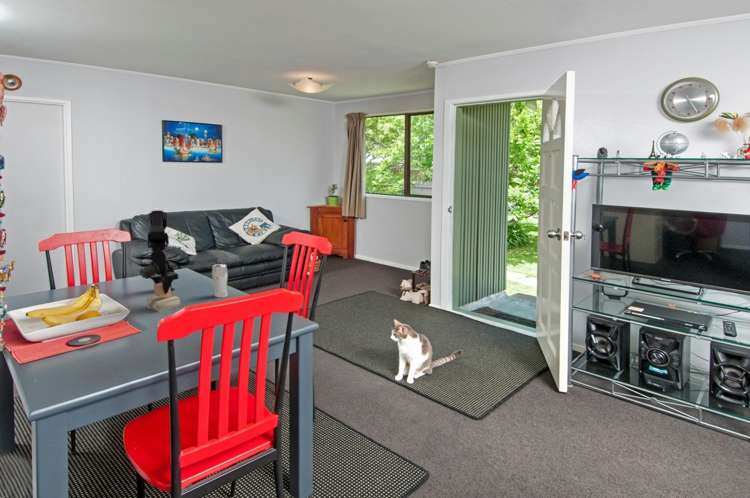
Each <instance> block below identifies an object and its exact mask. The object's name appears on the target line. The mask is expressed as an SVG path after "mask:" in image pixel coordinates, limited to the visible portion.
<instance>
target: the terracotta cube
mask: <svg viewBox="0 0 750 498" xmlns="http://www.w3.org/2000/svg"><path fill="white" fill-rule="evenodd" d="M153 292H154V297H157V296H158V297H164V296H168V295H172V290H171V287H170V288H169V290H168V293H167V294H164V290H163V286H162V283H158V284H155V283H154V284H153Z"/></svg>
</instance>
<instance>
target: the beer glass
mask: <svg viewBox="0 0 750 498" xmlns="http://www.w3.org/2000/svg"><path fill="white" fill-rule="evenodd" d="M211 276H212V280H213V284H214V289H215V290H214V297H215V298H220V297H221V298H226V297H228V296H229V294H228V289H227V288H228V287H227V286H228V276H229V274H228V267H227V264H225V263H221V264H219V263H218V264H214V265H212V266H211Z"/></svg>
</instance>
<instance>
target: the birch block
mask: <svg viewBox="0 0 750 498" xmlns="http://www.w3.org/2000/svg"><path fill="white" fill-rule="evenodd" d="M145 300H146V307H147V309H150V310H153V311H156V312H158V313H159V312H161V313H162V312H164V311H167V310H171V309H175V308H179V307H181V299H180V297H178V296H176V295H173V294H171V295H168V296H164V297H158V296H153V297H149V298H146V299H145Z"/></svg>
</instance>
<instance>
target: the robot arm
mask: <svg viewBox="0 0 750 498" xmlns="http://www.w3.org/2000/svg"><path fill="white" fill-rule="evenodd" d="M147 215H148V223H149V224H150V227H151V228H149V230H148V233H147V248H148V249H151V253H150V259H151V261H150V262H149V265H147V266H145V267H144V268H142V269H141V270H139V273H140V275H141V277H142V278H143V279H147V280H148V279H151V280H152V281H153V283H154V284H158V283H162V286H163V290H164V294H167V293H168V290H169V288H170V287H171V291H174V290H175V288H173V287H172V284H173V281H175V280H178V279H179V274H178V273H177V272H175V269H174V267H173V266H171V265H172V263H171V261H170V260H169V259H168V256H167V248H168V245H170V239H169V234H168V233H167V232H166V229H167V226H168V222H169V215H168V212H165V211H164V210H160V209H159V210H151V212H150V213H148V214H147Z"/></svg>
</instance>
